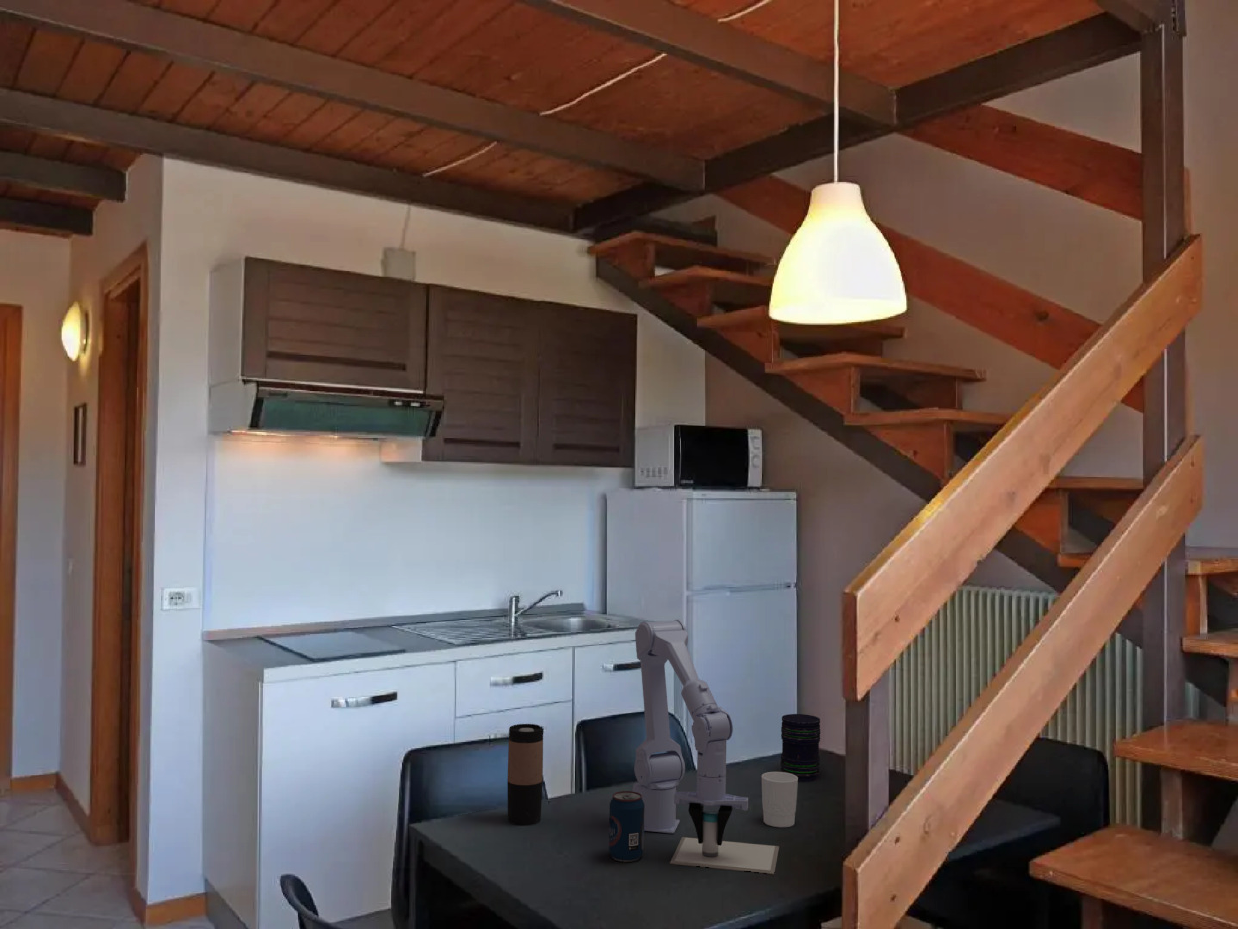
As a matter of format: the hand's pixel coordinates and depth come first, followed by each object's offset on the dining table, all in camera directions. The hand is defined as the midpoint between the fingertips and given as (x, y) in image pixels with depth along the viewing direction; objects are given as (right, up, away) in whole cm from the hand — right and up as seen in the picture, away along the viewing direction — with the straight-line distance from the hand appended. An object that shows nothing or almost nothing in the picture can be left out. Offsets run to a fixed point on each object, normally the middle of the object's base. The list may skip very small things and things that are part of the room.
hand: (710, 843), depth 197 cm
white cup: (+17, -4, +21) cm, 28 cm away
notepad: (+3, -3, +1) cm, 4 cm away
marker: (0, -2, 0) cm, 2 cm away
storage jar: (+28, -5, +57) cm, 63 cm away
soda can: (-17, -3, -1) cm, 17 cm away
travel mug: (-39, -3, +20) cm, 43 cm away
